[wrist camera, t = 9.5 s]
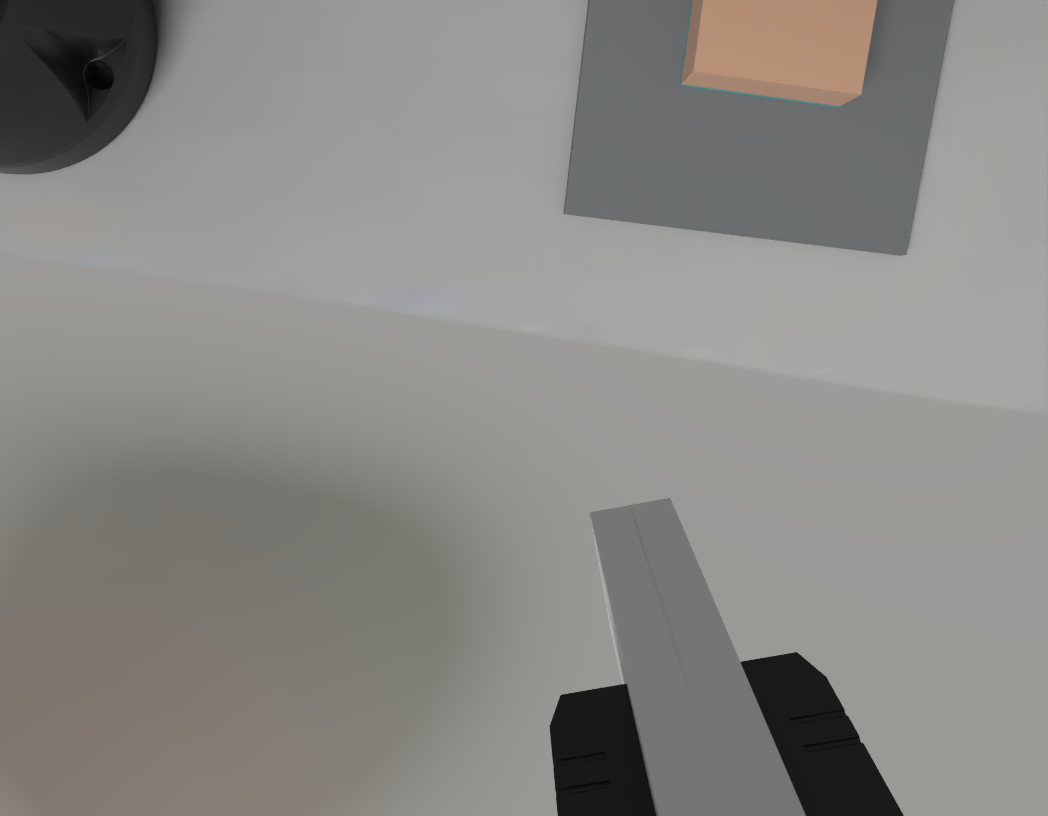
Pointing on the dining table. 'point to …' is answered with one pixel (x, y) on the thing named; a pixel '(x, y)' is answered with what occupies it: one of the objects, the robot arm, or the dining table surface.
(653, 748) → the robot arm
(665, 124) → the mat
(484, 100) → the dining table surface
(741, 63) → the tile
